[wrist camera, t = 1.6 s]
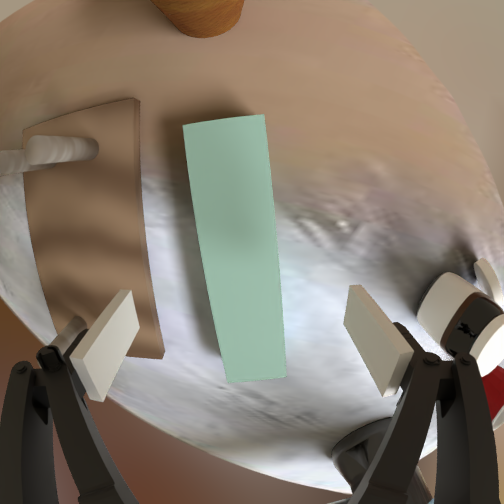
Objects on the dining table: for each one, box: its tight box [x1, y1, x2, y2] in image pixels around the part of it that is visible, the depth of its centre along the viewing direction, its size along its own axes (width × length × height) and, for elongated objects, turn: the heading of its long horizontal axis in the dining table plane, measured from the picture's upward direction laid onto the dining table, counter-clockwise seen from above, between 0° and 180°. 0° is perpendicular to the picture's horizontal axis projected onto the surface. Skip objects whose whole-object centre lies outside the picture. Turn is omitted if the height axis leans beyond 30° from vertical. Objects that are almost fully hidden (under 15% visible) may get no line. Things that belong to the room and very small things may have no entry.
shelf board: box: [183, 114, 287, 383], centre depth 24 cm, size 24×6×4 cm, turn 6°
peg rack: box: [0, 98, 165, 369], centre depth 20 cm, size 26×14×10 cm, turn 1°
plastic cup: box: [481, 365, 504, 431], centre depth 29 cm, size 11×11×12 cm
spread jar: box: [417, 258, 504, 377], centre depth 22 cm, size 12×11×12 cm
